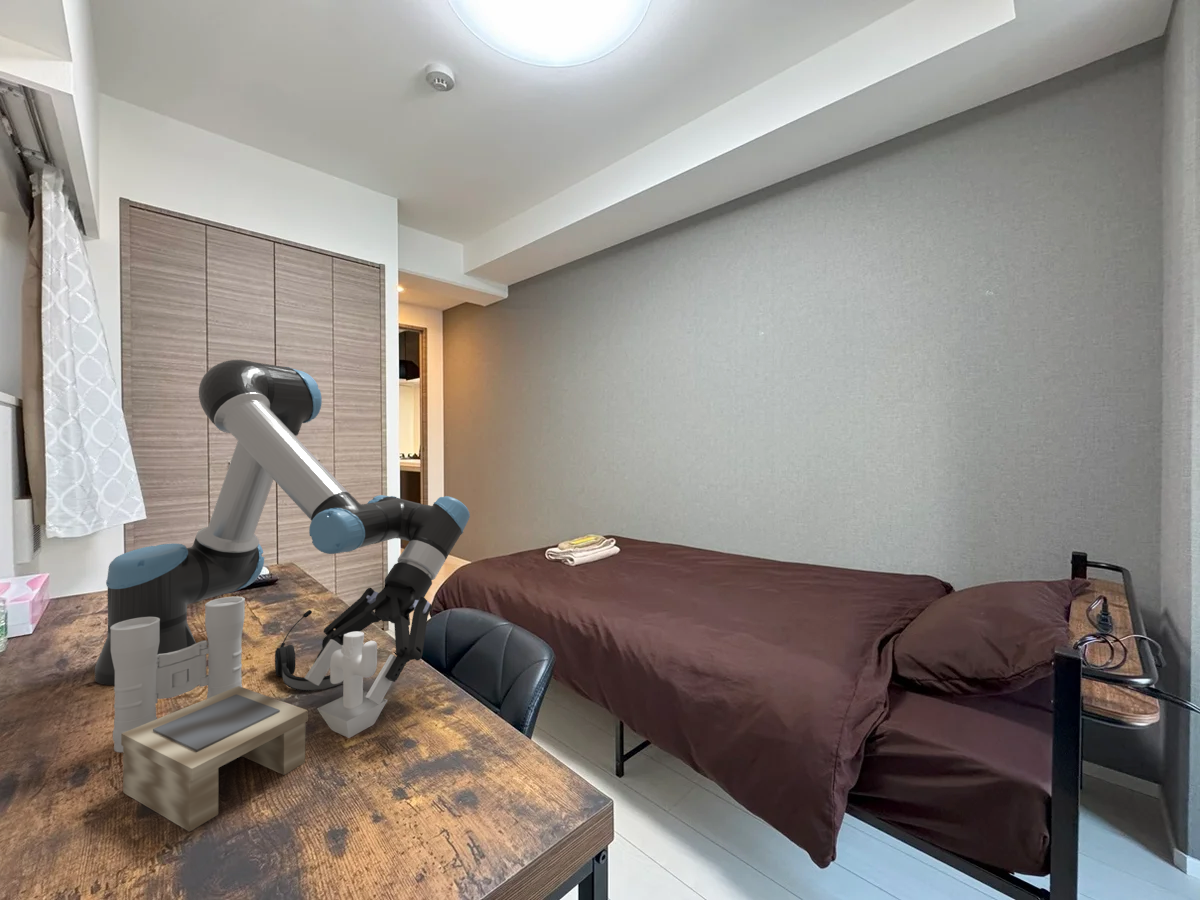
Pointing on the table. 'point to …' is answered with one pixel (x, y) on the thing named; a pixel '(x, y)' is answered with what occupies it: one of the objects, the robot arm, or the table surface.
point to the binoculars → (173, 663)
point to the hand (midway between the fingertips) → (340, 691)
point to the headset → (287, 667)
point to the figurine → (352, 686)
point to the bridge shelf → (208, 751)
